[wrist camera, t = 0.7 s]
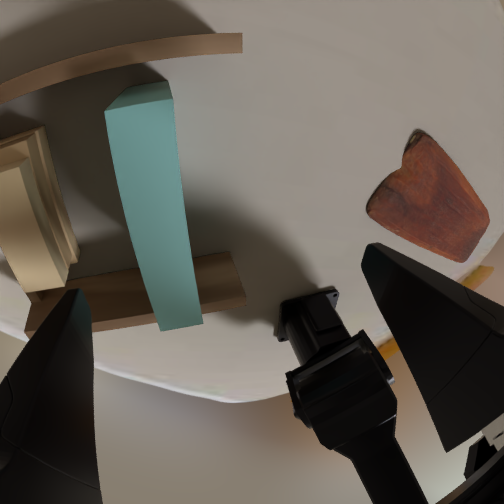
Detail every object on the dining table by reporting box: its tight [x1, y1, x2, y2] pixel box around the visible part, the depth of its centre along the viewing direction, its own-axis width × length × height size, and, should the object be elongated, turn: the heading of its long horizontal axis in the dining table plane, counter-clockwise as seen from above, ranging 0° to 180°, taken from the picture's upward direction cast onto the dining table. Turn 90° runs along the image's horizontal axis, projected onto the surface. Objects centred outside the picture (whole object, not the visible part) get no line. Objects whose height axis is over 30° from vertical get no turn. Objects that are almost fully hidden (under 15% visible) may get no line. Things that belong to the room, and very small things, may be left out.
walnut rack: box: [0, 33, 246, 339], centre depth 16 cm, size 17×17×5 cm
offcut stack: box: [0, 125, 81, 293], centre depth 15 cm, size 10×4×4 cm, turn 179°
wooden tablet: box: [367, 133, 490, 263], centre depth 30 cm, size 27×10×2 cm, turn 61°
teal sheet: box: [104, 81, 203, 331], centre depth 16 cm, size 12×2×8 cm, turn 0°
